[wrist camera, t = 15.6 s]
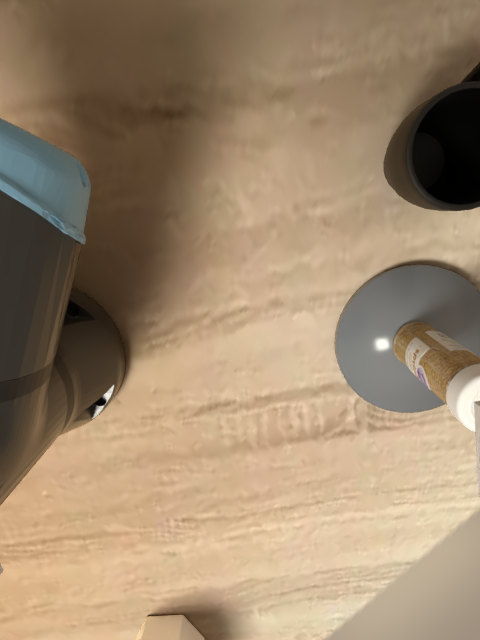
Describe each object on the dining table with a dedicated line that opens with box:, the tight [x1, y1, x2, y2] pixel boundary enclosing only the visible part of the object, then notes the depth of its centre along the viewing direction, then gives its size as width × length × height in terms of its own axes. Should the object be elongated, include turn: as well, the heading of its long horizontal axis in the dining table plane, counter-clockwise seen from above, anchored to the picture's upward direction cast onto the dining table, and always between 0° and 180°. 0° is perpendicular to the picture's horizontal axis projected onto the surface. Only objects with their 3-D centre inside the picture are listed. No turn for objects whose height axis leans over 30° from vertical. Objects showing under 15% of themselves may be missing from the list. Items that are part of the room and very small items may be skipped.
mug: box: [384, 62, 480, 211], centre depth 32 cm, size 8×12×10 cm
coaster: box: [335, 264, 480, 413], centre depth 41 cm, size 15×15×1 cm
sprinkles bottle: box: [393, 322, 480, 431], centre depth 34 cm, size 5×5×14 cm
